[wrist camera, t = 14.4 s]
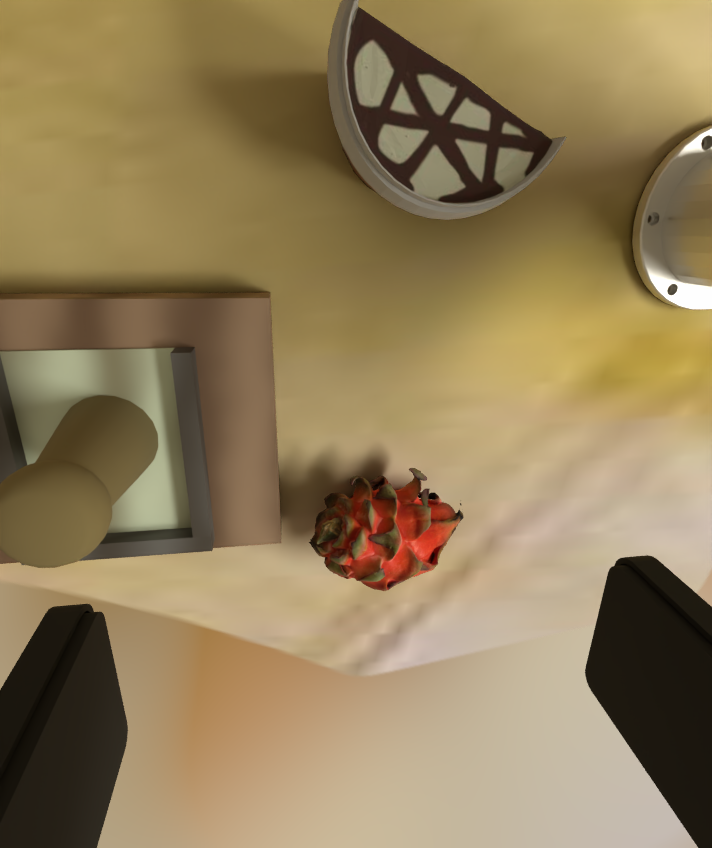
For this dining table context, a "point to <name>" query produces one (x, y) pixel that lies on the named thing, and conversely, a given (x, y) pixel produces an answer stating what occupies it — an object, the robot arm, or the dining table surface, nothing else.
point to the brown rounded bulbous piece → (75, 482)
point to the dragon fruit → (383, 531)
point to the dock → (155, 407)
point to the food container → (424, 125)
